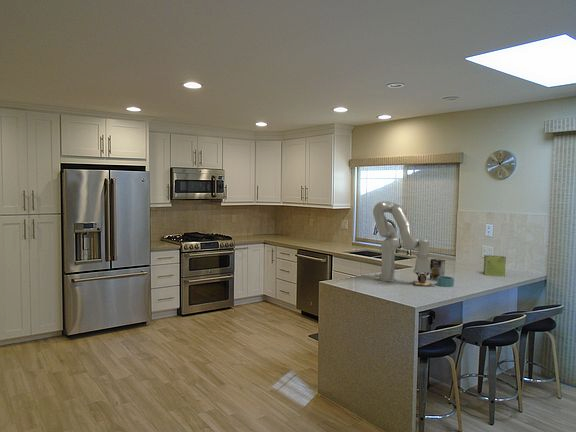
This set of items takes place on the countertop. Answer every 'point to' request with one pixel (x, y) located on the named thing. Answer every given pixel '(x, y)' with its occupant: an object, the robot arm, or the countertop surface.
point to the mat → (422, 286)
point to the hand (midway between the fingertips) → (421, 281)
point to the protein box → (494, 265)
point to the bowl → (445, 281)
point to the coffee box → (437, 268)
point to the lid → (422, 281)
